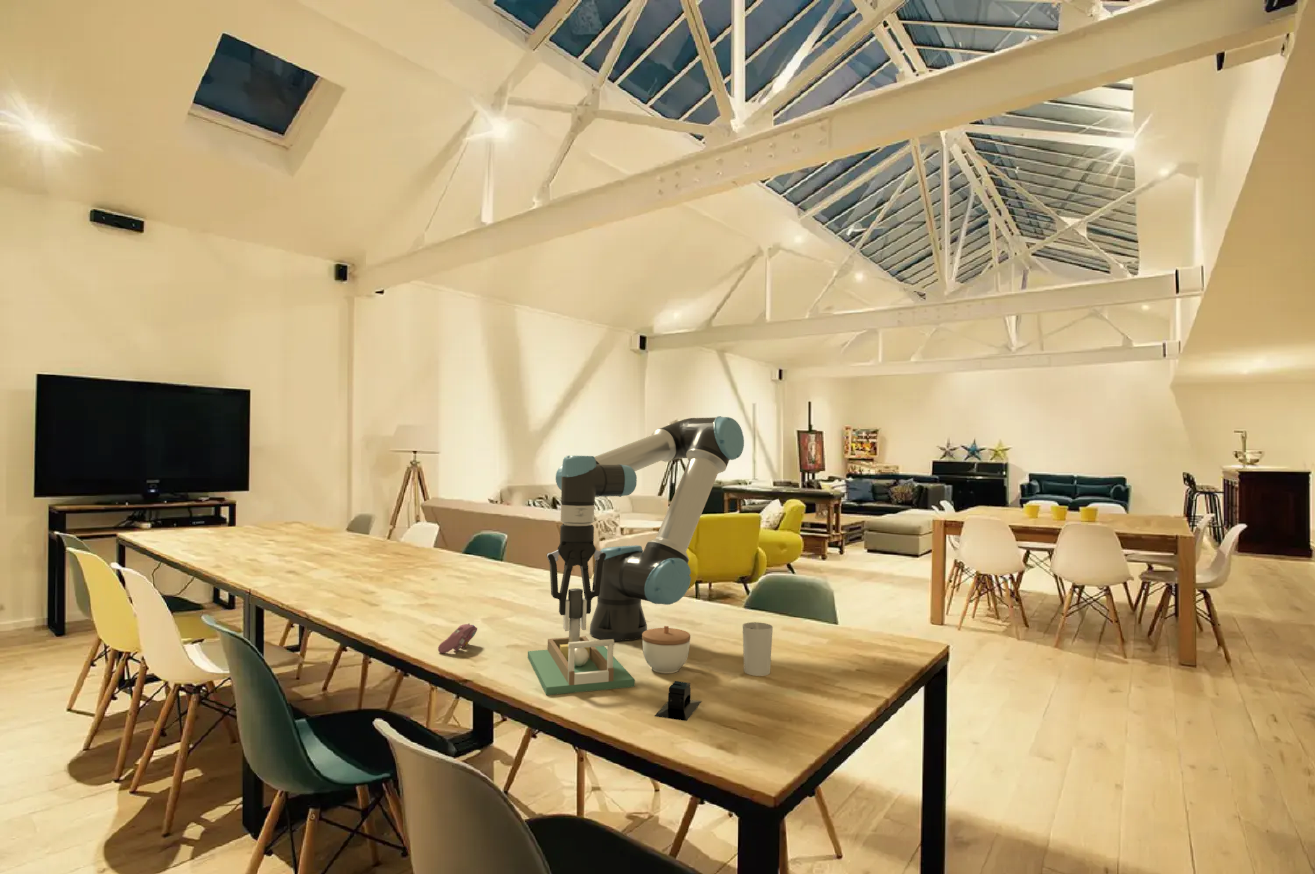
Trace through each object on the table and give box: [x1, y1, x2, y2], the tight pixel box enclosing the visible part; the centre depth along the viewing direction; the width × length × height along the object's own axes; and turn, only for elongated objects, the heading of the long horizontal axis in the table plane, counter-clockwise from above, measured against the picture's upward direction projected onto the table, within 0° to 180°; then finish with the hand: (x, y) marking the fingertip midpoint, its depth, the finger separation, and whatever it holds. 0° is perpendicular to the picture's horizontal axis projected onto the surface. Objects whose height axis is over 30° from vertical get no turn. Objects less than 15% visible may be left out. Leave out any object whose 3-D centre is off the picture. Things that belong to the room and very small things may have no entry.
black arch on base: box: [654, 680, 703, 722], centre depth 122 cm, size 13×8×5 cm, turn 161°
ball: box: [574, 648, 589, 666], centre depth 141 cm, size 4×4×4 cm
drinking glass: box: [742, 621, 774, 677], centre depth 145 cm, size 7×7×10 cm
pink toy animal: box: [437, 623, 478, 654], centre depth 157 cm, size 10×5×7 cm, turn 169°
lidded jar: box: [641, 625, 691, 674], centre depth 145 cm, size 11×11×9 cm
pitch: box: [527, 635, 636, 696], centre depth 142 cm, size 18×25×10 cm
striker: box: [560, 588, 590, 660], centre depth 146 cm, size 6×3×15 cm, turn 109°
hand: (574, 628), depth 146 cm, fingers closed on striker, 3 cm apart
